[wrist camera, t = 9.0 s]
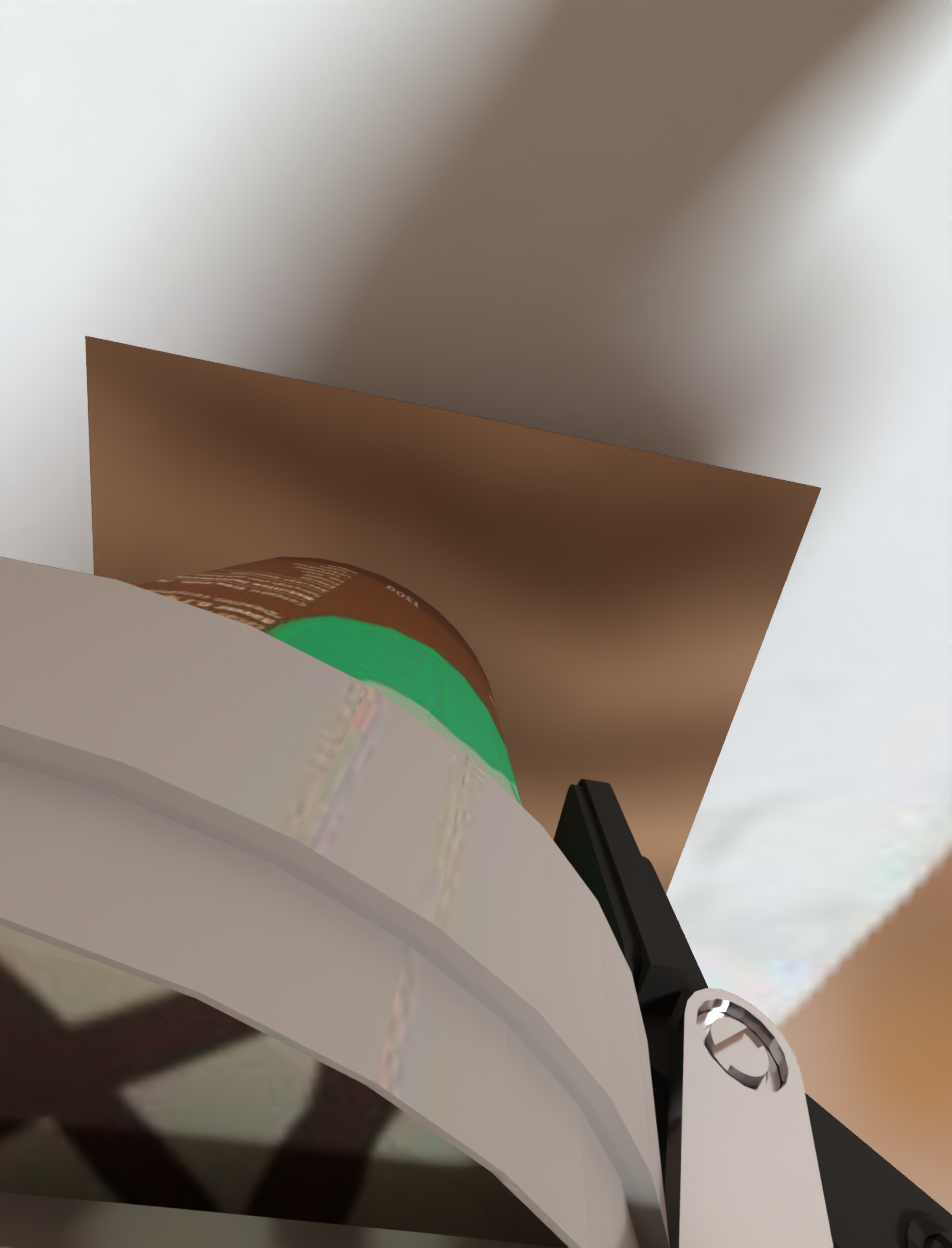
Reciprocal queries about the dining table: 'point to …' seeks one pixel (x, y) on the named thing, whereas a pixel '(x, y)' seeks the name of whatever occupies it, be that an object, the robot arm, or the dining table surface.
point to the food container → (298, 922)
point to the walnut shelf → (472, 556)
